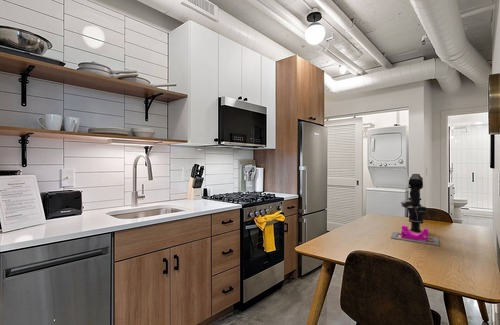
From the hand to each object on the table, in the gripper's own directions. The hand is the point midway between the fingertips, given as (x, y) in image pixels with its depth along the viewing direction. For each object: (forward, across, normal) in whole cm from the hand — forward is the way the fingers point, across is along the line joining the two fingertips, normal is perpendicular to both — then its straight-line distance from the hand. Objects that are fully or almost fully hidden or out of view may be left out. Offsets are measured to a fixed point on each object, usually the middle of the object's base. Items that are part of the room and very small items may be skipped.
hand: (414, 219), depth 178 cm
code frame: (+13, -1, 0) cm, 13 cm away
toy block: (+13, -1, 0) cm, 13 cm away
